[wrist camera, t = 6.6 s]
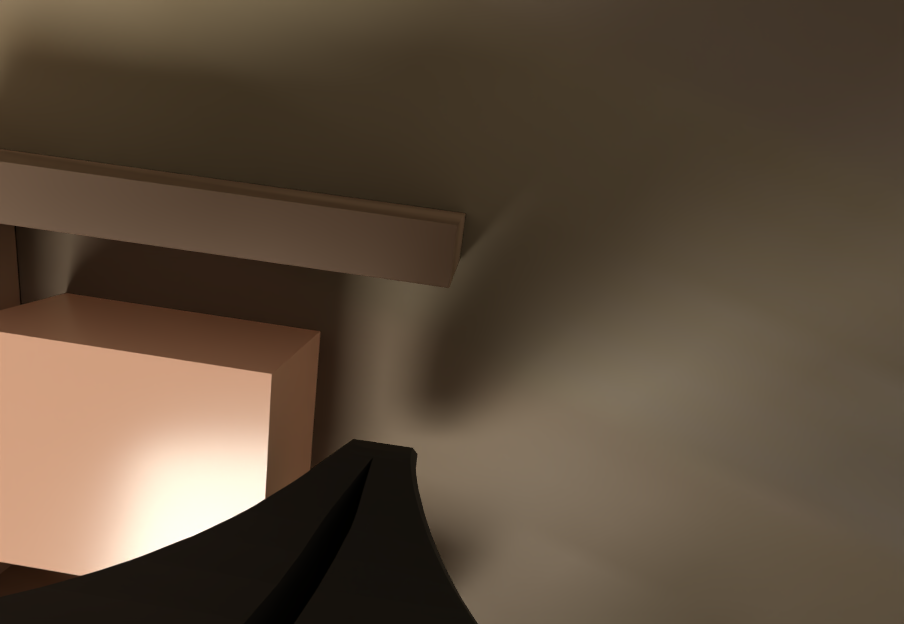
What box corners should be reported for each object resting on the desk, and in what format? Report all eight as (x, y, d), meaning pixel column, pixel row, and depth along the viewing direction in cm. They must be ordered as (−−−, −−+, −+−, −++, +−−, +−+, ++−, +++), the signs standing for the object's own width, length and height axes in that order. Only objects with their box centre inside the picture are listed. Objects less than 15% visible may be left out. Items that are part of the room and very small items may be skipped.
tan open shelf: (408, 636, 14) (386, 758, 11) (5, 568, 14) (-119, 668, 11) (465, 213, 11) (457, 225, 8) (-36, 143, 11) (-215, 131, 9)
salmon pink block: (309, 515, 13) (259, 607, 11) (83, 477, 14) (-27, 557, 11) (323, 328, 12) (271, 374, 9) (74, 290, 12) (-52, 324, 10)
